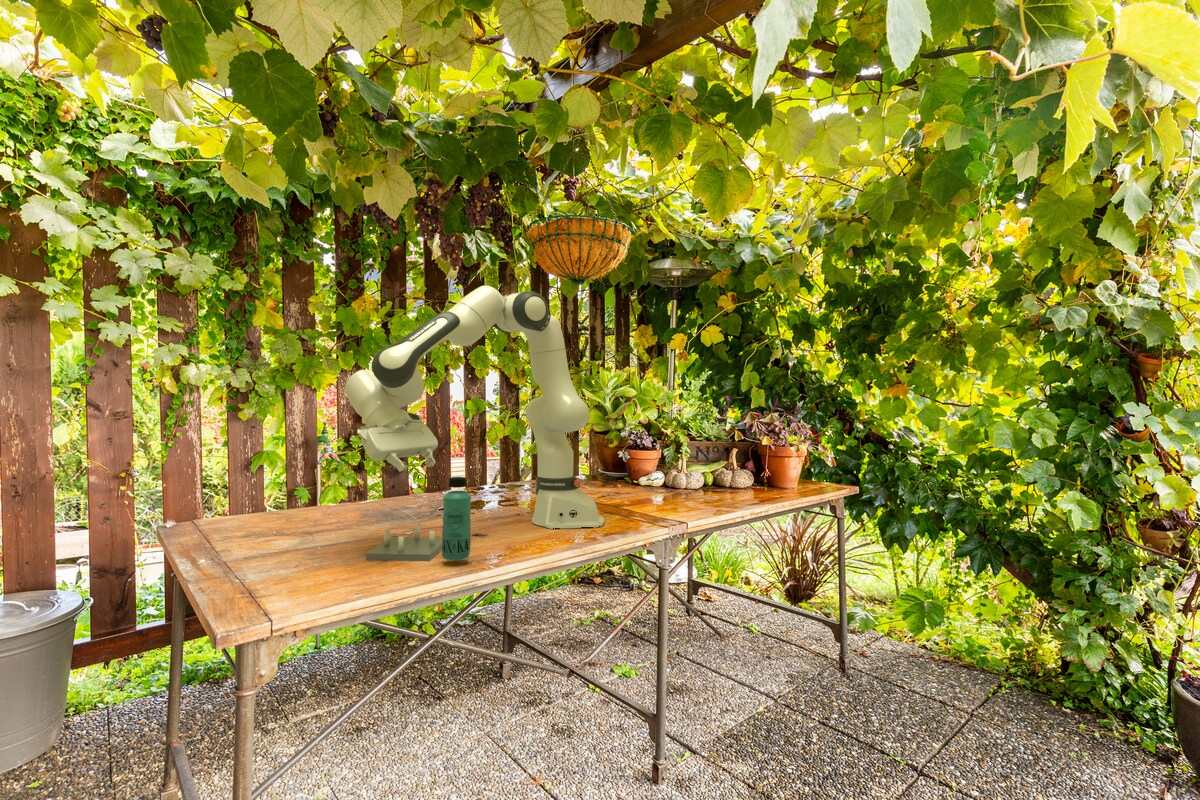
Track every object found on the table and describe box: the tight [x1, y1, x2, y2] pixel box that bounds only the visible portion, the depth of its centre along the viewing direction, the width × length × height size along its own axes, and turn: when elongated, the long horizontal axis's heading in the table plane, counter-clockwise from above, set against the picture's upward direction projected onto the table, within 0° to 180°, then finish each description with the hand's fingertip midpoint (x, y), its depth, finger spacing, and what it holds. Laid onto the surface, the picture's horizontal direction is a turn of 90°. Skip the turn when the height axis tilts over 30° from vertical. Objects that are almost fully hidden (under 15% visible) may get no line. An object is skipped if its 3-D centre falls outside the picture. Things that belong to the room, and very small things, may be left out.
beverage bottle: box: [441, 476, 472, 561], centre depth 128 cm, size 6×7×20 cm
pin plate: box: [365, 524, 443, 562], centre depth 137 cm, size 15×15×5 cm
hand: (418, 467), depth 133 cm, fingers open, 8 cm apart
